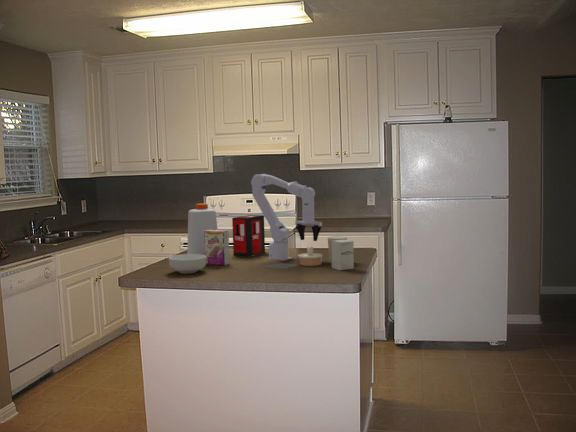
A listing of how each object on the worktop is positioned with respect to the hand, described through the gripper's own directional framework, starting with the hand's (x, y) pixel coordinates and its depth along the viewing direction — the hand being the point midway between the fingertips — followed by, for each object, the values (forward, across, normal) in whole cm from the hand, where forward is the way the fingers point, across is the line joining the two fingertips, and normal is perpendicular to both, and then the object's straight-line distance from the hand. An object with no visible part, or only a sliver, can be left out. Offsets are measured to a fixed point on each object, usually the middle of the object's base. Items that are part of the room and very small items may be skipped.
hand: (308, 240), depth 279 cm
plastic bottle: (+10, -51, -21) cm, 56 cm away
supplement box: (+10, +25, -10) cm, 29 cm away
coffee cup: (+10, +15, +2) cm, 18 cm away
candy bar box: (+10, -33, -30) cm, 46 cm away
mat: (+10, -2, -20) cm, 22 cm away
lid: (+6, +7, -9) cm, 13 cm away
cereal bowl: (+10, -31, -51) cm, 61 cm away
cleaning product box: (+10, -39, +1) cm, 40 cm away
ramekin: (+10, +7, -9) cm, 15 cm away
